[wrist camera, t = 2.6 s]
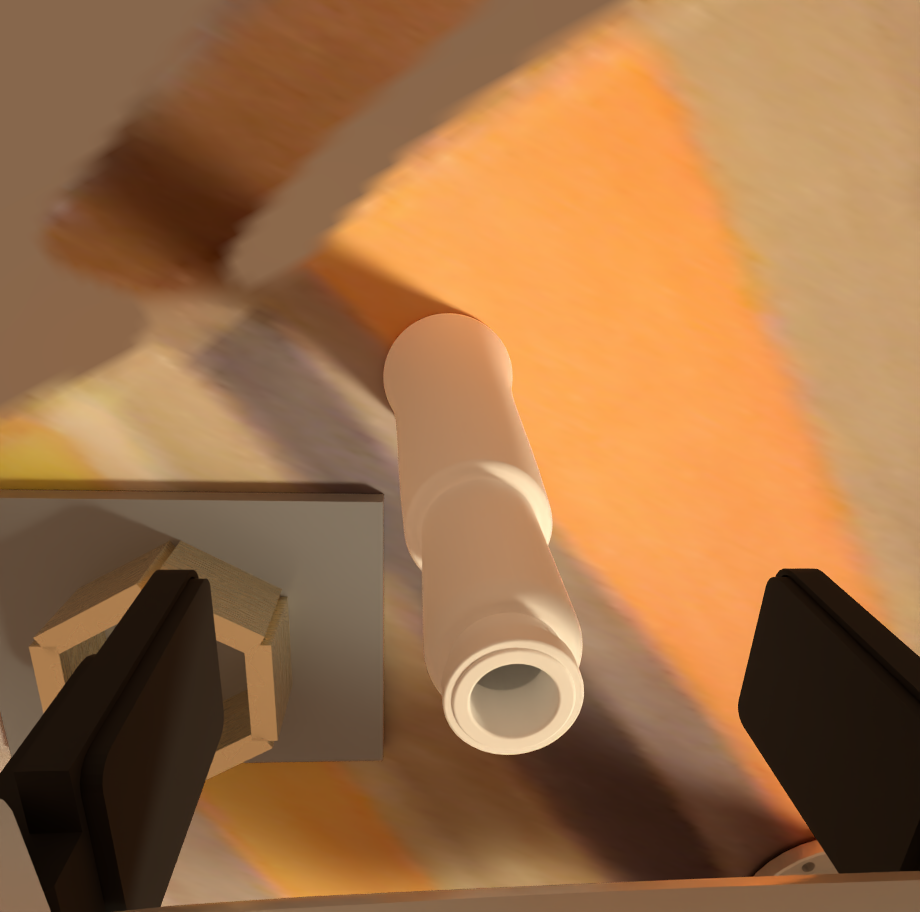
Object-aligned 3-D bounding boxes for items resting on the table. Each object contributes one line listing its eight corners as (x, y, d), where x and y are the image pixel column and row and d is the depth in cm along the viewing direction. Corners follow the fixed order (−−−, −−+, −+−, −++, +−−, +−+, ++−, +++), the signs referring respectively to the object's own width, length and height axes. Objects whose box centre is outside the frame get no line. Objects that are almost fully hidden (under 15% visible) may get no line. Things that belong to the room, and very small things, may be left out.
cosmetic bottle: (537, 380, 31) (780, 702, 10) (443, 462, 32) (495, 898, 11) (452, 284, 29) (539, 438, 9) (356, 374, 30) (230, 703, 10)
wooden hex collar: (284, 541, 32) (266, 584, 28) (295, 731, 36) (281, 791, 32) (63, 539, 31) (15, 583, 27) (99, 734, 35) (61, 795, 31)
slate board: (383, 494, 32) (382, 502, 32) (383, 746, 38) (382, 760, 37) (-39, 488, 31) (-53, 497, 30) (24, 752, 36) (13, 766, 35)
